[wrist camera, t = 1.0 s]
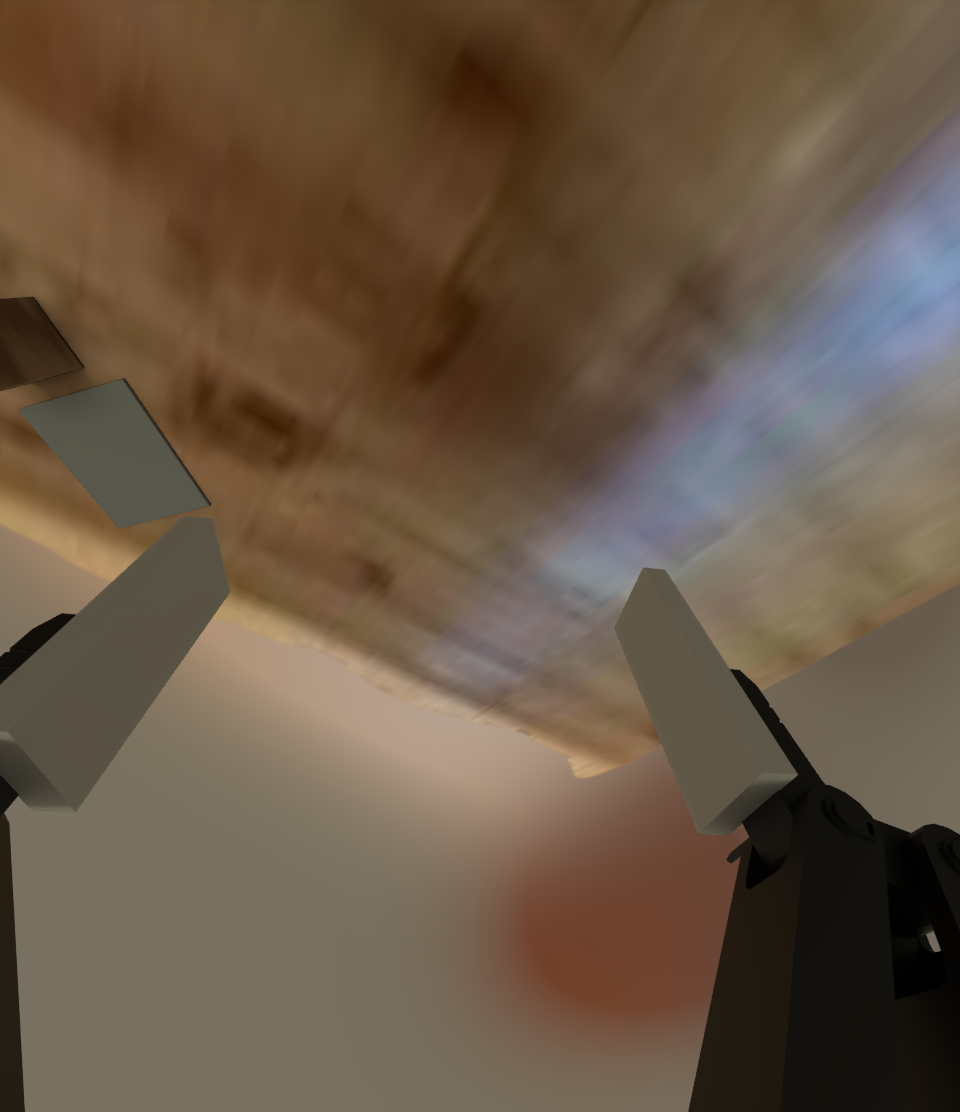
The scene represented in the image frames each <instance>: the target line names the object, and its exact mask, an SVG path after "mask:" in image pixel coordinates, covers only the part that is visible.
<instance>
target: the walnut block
mask: <svg viewBox="0 0 960 1112" xmlns="http://www.w3.org/2000/svg"><path fill="white" fill-rule="evenodd" d="M80 368H84V366H83V365H82V364H81V362H80V361H79V359H78V358H77V357H76V355H75V354H74V353H73V351H72V350H71V348H70V347H69V346H68V344H67V343H66V342H65V340H64V339H63V337H62V336H61V335H60V333H59V332H58V330H57V329H56V328H55V326H54V325H53V324H52V322H51V321H50V319H49V318H48V317H47V315H46V314H45V313H44V311H43V310H42V308H41V307H40V306H39V304H38V303H37V302H36V300H35V299H34V297H23V298H8V299H0V391H3V390H7V389H11V388H15V387H18V386H22V385H26V384H30V383H33V382H37V381H40V380H43V379H47V378H50V377H53V376H57V375H60V374H64V373H67V372H70V371H74V370H77V369H80Z"/></svg>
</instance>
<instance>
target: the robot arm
mask: <svg viewBox="0 0 960 1112" xmlns="http://www.w3.org/2000/svg"><path fill="white" fill-rule="evenodd" d="M229 593H230V588H229V584H228V580H227V575H226V571H225V567H224V563H223V559H222V555H221V550H220V546H219V542H218V538H217V534H216V530H215V525H214V521H213V519H210V518H201V517H192V516H183V517H182V518H181V519H180V520H179V521H178V522H177V523H176V524H175V525H174V526H173V527H172V528H170V529H169V530H168V531H167V532H166V533H165V534H164V535H163V536H162V537H161V538H160V539H158V540H157V541H156V542H155V543H154V544H153V545H152V546H151V547H150V548H149V549H148V550H146V551H145V552H144V553H143V554H142V555H141V556H140V557H139V558H138V559H137V560H136V561H134V562H133V563H132V564H131V565H130V566H129V567H128V568H127V569H126V570H125V571H124V572H122V573H121V574H120V575H119V576H118V577H117V578H116V579H115V580H114V581H113V582H112V583H110V584H109V585H108V586H107V587H106V588H105V589H104V590H103V591H102V592H101V593H100V594H99V595H98V596H96V597H95V598H94V599H93V600H92V601H91V602H90V603H89V604H88V605H87V606H85V607H84V608H83V609H82V610H81V611H80V612H79V613H78V614H77V615H75V614H63V613H62V614H60V615H58V616H56V617H54V618H52V619H50V620H49V621H47V622H45V623H43V624H41V625H39V626H37V627H36V628H33V629H32V630H31V631H30V632H29V633H28V634H26V635H25V636H24V637H23V638H21V640H19V641H18V642H17V643H16V644H14V645H13V646H12V647H11V648H10V651H9V652H5V653H4V654H3V655H2V656H1V657H0V1112H25V1107H24V1088H23V1069H22V1051H21V1033H20V1014H19V995H18V976H17V958H16V942H15V941H16V939H15V922H14V903H13V884H12V865H11V847H10V828H9V822H8V820H7V818H6V815H5V814H4V812H5V811H6V810H7V808H8V807H9V806H10V805H11V804H12V802H13V801H14V800H15V799H16V798H17V796H19V797H20V798H21V799H22V800H23V802H25V804H26V805H27V806H29V808H30V809H31V810H32V811H60V812H76V811H77V810H78V808H79V807H80V805H81V804H82V803H83V801H84V800H85V798H86V797H87V795H88V794H89V792H90V791H91V790H92V788H93V787H94V785H95V784H96V782H97V781H98V780H99V778H100V777H101V775H102V774H103V773H104V771H105V770H106V768H107V767H108V765H109V764H110V763H111V761H112V760H113V758H114V757H115V755H116V754H117V753H118V751H119V750H120V748H121V747H122V745H123V744H124V743H125V741H126V740H127V738H128V737H129V736H130V734H131V733H132V731H133V730H134V728H135V727H136V725H137V724H138V723H139V721H140V720H141V718H142V717H143V716H144V714H145V713H146V711H147V710H148V708H149V707H150V705H151V704H152V703H153V701H154V700H155V698H156V697H157V696H158V694H159V693H160V691H161V690H162V688H163V687H164V686H165V684H166V683H167V681H168V680H169V678H170V677H171V676H172V674H173V673H174V671H175V670H176V669H177V667H178V666H179V664H180V663H181V661H182V660H183V659H184V657H185V656H186V654H187V653H188V651H189V650H190V648H191V647H192V646H193V644H194V643H195V642H196V640H197V639H198V637H199V636H200V634H201V633H202V631H203V630H204V629H205V627H206V626H207V624H208V623H209V622H210V620H211V619H212V617H213V616H214V614H215V613H216V612H217V610H218V609H219V607H220V606H221V604H222V603H223V602H224V600H225V599H226V597H227V596H228V594H229ZM614 629H615V631H616V633H617V636H618V638H619V641H620V643H621V646H622V648H623V651H624V653H625V655H626V658H627V660H628V663H629V665H630V668H631V670H632V673H633V675H634V678H635V680H636V682H637V685H638V687H639V690H640V692H641V695H642V697H643V700H644V702H645V704H646V707H647V709H648V712H649V714H650V717H651V719H652V722H653V724H654V727H655V729H656V731H657V734H658V736H659V739H660V741H661V744H662V746H663V748H664V751H665V753H666V756H667V758H668V761H669V763H670V766H671V768H672V771H673V773H674V776H675V778H676V780H677V783H678V785H679V788H680V790H681V793H682V795H683V798H684V800H685V802H686V805H687V807H688V810H689V812H690V815H691V817H692V820H693V822H694V824H695V827H696V829H697V832H698V834H715V835H729V834H730V833H731V832H733V831H734V830H735V829H736V828H737V827H738V826H740V825H741V824H742V823H743V825H744V827H745V829H746V831H747V833H748V835H749V838H748V839H747V840H745V841H744V842H743V843H742V844H741V845H739V846H738V847H737V848H736V849H735V850H733V851H732V852H731V853H730V854H729V856H728V858H727V861H728V862H730V863H733V862H734V861H735V860H737V859H738V858H739V857H740V856H741V858H740V863H739V869H738V873H737V878H736V882H735V887H734V892H733V897H732V902H731V907H730V912H729V917H728V921H727V926H726V931H725V936H724V941H723V946H722V951H721V955H720V961H719V965H718V970H717V975H716V980H715V985H714V989H713V994H712V1000H711V1004H710V1009H709V1014H708V1019H707V1024H706V1028H705V1033H704V1038H703V1043H702V1048H701V1053H700V1058H699V1062H698V1068H697V1072H696V1077H695V1082H694V1087H693V1092H692V1097H691V1102H690V1106H689V1111H688V1112H960V834H958V833H956V832H954V831H952V830H951V829H949V828H947V827H943V826H940V825H937V824H929V825H924V826H922V827H921V828H919V829H917V830H916V831H914V832H912V833H910V832H907V831H904V830H902V829H899V828H896V827H893V826H891V825H888V824H885V823H883V822H880V821H877V820H875V819H873V818H872V816H871V815H870V814H869V813H868V812H867V811H866V810H865V809H864V808H863V806H862V805H861V804H860V803H859V802H857V801H856V800H855V799H853V798H852V797H850V796H849V795H848V794H847V793H845V792H843V791H841V790H839V789H837V788H835V787H833V786H830V785H825V783H824V782H823V781H822V780H821V778H820V777H819V775H818V774H817V773H816V771H815V770H814V768H813V767H812V765H811V764H810V762H809V761H808V759H807V758H806V757H805V755H804V754H803V752H802V751H801V749H800V748H799V746H798V745H797V744H796V742H795V741H794V739H793V738H792V736H791V735H790V733H789V732H788V730H787V729H786V728H785V726H784V725H783V723H780V721H779V720H780V719H779V718H778V716H777V715H776V713H775V711H774V710H773V708H770V707H769V703H768V701H767V700H766V698H765V697H764V695H763V694H762V692H761V691H760V690H759V688H758V687H757V686H756V685H755V684H754V683H753V682H752V681H751V680H750V679H749V678H748V677H747V676H746V675H744V674H743V673H742V672H741V671H740V670H734V669H729V668H728V666H727V664H726V663H725V661H724V660H723V658H722V657H721V655H720V654H719V652H718V651H717V649H716V647H715V646H714V644H713V643H712V641H711V640H710V638H709V637H708V635H707V634H706V632H705V631H704V629H703V627H702V626H701V624H700V623H699V621H698V620H697V618H696V617H695V615H694V614H693V612H692V610H691V609H690V607H689V606H688V604H687V603H686V601H685V600H684V598H683V597H682V595H681V593H680V592H679V590H678V589H677V587H676V586H675V584H674V583H673V581H672V580H671V578H670V577H669V575H668V573H667V572H666V570H661V569H652V568H643V569H642V571H641V573H640V575H639V577H638V579H637V582H636V584H635V586H634V588H633V590H632V592H631V594H630V596H629V598H628V600H627V602H626V605H625V607H624V609H623V611H622V613H621V615H620V617H619V619H618V621H617V623H616V626H615V628H614ZM933 931H934V933H935V935H936V938H937V941H938V943H939V946H940V949H941V951H939V952H934V951H933V949H932V948H931V946H930V944H929V941H928V938H927V936H926V934H928V933H930V932H933Z"/></svg>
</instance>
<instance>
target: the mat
mask: <svg viewBox="0 0 960 1112" xmlns="http://www.w3.org/2000/svg"><path fill="white" fill-rule="evenodd" d="M18 410H19V412H20V413H21V414H22V415H23V416H24V417H25V419H26V420H27V421H28V422H29V423H30V424H31V426H32V427H33V428H34V429H35V430H36V431H37V433H38V434H39V435H40V436H41V437H42V438H43V440H44V441H45V442H46V443H47V444H48V445H49V447H50V448H51V449H52V450H53V451H54V452H55V454H56V455H57V456H58V457H59V458H60V460H61V461H62V462H63V463H64V464H65V465H66V467H67V468H68V469H69V470H70V471H71V472H72V474H73V475H74V476H75V477H76V478H77V479H78V481H79V482H80V483H81V484H82V485H83V486H84V488H85V489H86V490H87V491H88V492H89V493H90V495H91V496H92V497H93V498H94V499H95V500H96V502H97V503H98V504H99V505H100V506H101V507H102V509H103V510H104V511H105V512H106V513H107V514H108V516H109V517H110V518H111V519H112V520H113V521H114V523H115V524H116V525H117V526H118V527H119V528H123V527H127V526H131V525H135V524H139V523H143V522H147V521H151V520H155V519H159V518H163V517H167V516H171V515H175V514H179V513H183V512H187V511H191V510H195V509H199V508H203V507H207V506H210V505H211V504H210V503H209V501H208V500H207V498H206V497H205V495H204V494H203V492H202V491H201V489H200V488H199V486H198V485H197V484H196V482H195V481H194V479H193V478H192V476H191V475H190V473H189V472H188V470H187V469H186V467H185V466H184V465H183V463H182V462H181V460H180V459H179V457H178V456H177V454H176V453H175V451H174V450H173V448H172V447H171V446H170V444H169V443H168V441H167V440H166V438H165V437H164V435H163V434H162V432H161V431H160V430H159V428H158V427H157V425H156V424H155V422H154V421H153V419H152V418H151V416H150V415H149V413H148V412H147V411H146V409H145V408H144V406H143V405H142V403H141V402H140V400H139V399H138V397H137V396H136V394H135V393H134V392H133V390H132V389H131V387H130V386H129V384H128V383H127V381H126V380H125V379H121V380H118V381H114V382H111V383H107V384H104V385H101V386H97V387H94V388H90V389H87V390H83V391H80V392H77V393H73V394H70V395H66V396H63V397H59V398H56V399H53V400H49V401H46V402H42V403H39V404H35V405H32V406H29V407H25V408H22V409H18Z"/></svg>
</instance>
